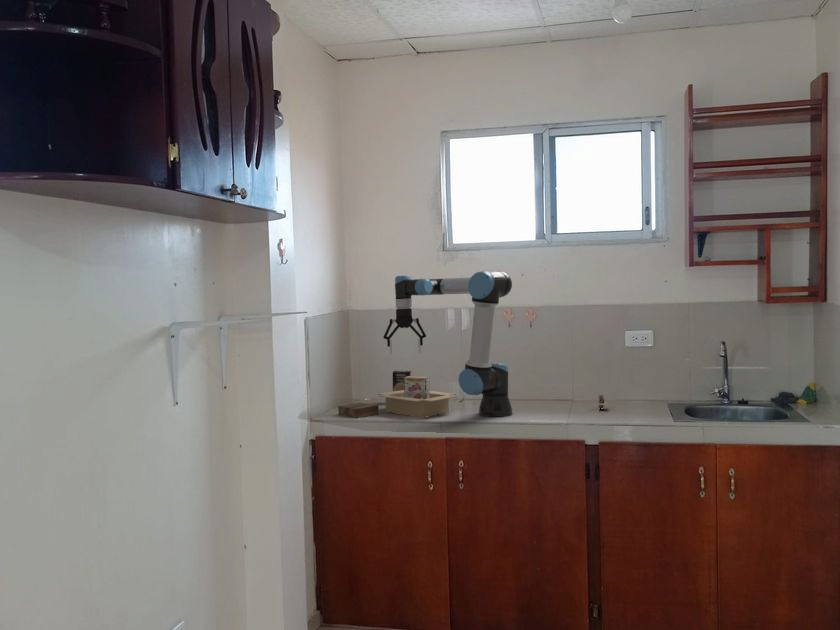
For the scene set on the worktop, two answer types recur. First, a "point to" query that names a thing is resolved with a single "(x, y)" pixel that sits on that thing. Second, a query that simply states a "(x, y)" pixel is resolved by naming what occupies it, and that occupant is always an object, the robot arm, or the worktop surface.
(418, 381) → the candy bar box
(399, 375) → the coffee box
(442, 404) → the carton
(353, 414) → the plinth
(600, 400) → the architectural model
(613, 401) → the worktop surface
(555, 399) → the worktop surface
